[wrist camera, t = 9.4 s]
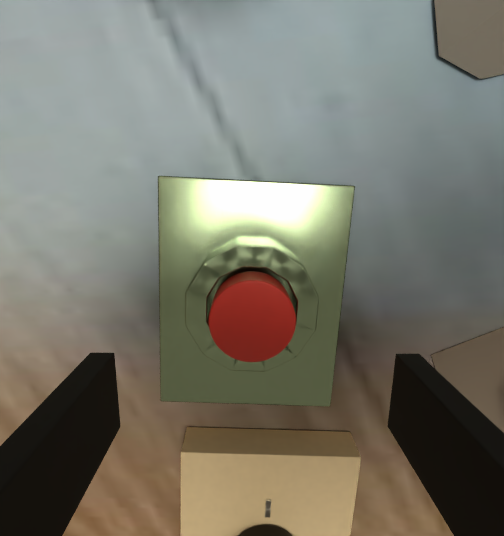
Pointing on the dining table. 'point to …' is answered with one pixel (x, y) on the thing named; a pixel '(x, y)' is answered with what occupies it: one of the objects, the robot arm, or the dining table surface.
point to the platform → (477, 372)
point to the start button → (252, 317)
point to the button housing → (242, 260)
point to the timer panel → (268, 481)
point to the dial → (265, 531)
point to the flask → (472, 35)
